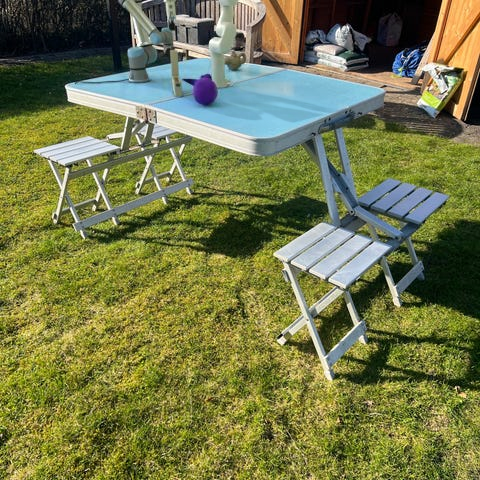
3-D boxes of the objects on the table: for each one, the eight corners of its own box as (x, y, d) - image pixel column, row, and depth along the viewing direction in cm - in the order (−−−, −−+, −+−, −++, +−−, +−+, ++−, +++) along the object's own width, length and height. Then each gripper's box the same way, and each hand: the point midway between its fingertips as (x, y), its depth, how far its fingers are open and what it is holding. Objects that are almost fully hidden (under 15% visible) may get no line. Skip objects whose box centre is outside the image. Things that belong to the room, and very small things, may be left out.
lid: (177, 50, 289) (176, 44, 294) (170, 51, 288) (168, 44, 293) (178, 76, 303) (177, 69, 308) (172, 76, 302) (170, 69, 307)
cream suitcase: (182, 96, 293) (181, 81, 289) (175, 96, 293) (174, 82, 288) (180, 90, 308) (178, 76, 303) (173, 91, 307) (172, 77, 302)
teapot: (226, 72, 363) (226, 52, 355) (220, 70, 372) (219, 50, 364) (249, 69, 372) (249, 50, 365) (242, 67, 381) (241, 48, 373)
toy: (205, 96, 290) (217, 110, 270) (179, 91, 283) (189, 106, 262) (211, 71, 282) (224, 84, 262) (184, 66, 275) (195, 79, 254)
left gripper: (187, 57, 329) (191, 62, 311) (153, 59, 324) (154, 63, 307) (186, 46, 325) (190, 50, 307) (152, 48, 321) (153, 52, 303)
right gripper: (176, -1, 267) (179, 30, 276) (174, -2, 281) (176, 28, 290) (164, -1, 266) (167, 31, 274) (162, -2, 280) (165, 28, 289)
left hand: (172, 57), depth 307 cm, fingers open, 13 cm apart
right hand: (172, 29), depth 282 cm, fingers open, 9 cm apart
